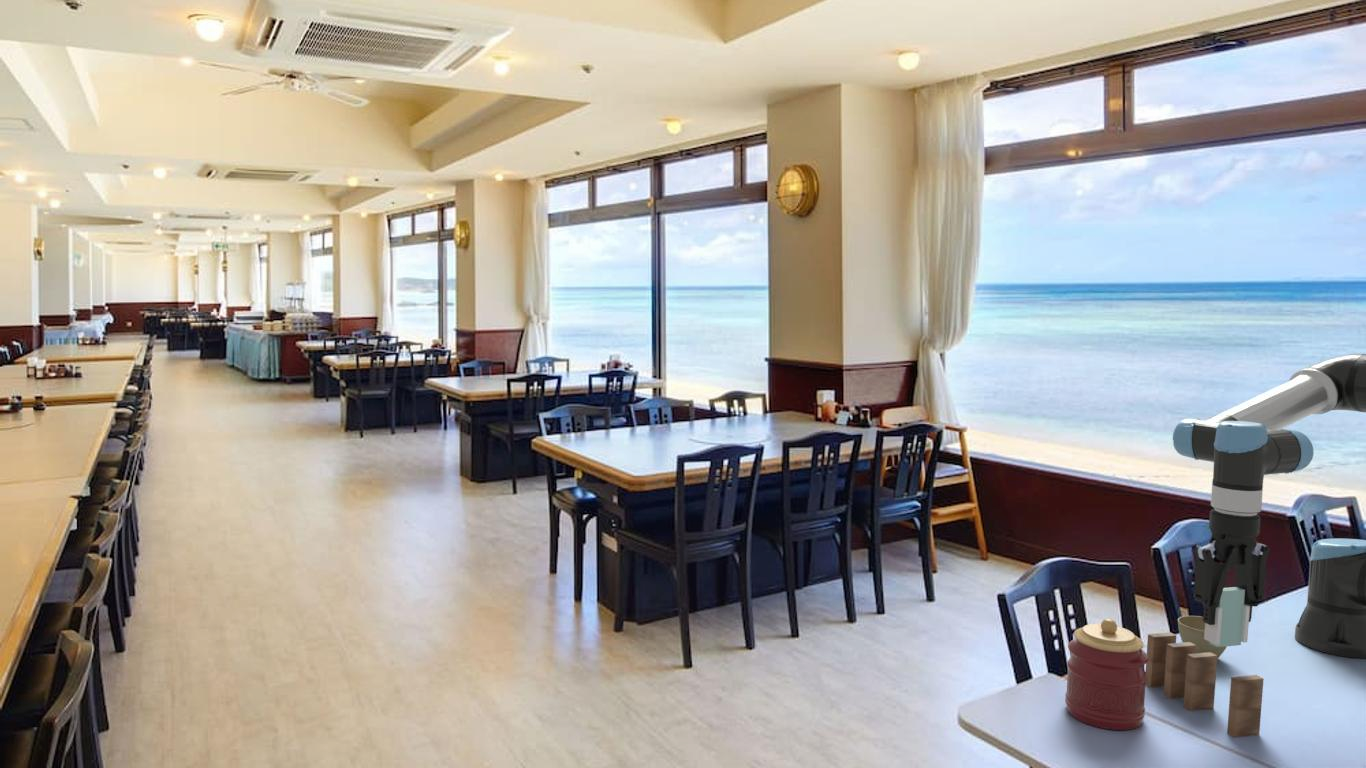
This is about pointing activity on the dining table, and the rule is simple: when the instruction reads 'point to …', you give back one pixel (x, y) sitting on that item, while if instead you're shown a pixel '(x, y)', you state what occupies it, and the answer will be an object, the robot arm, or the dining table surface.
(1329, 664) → the dining table surface
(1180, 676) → the domino
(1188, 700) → the domino
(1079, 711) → the canister
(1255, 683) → the domino
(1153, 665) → the domino
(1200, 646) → the flower pot
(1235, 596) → the domino
